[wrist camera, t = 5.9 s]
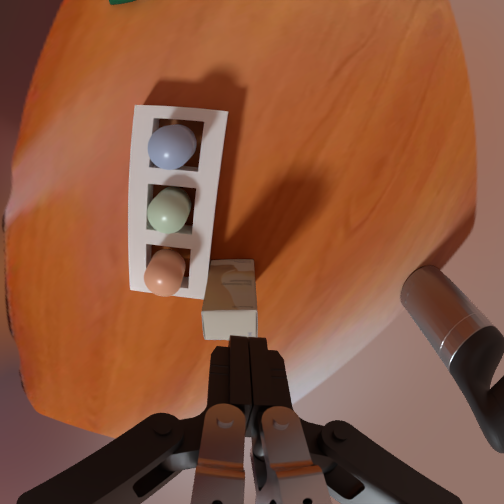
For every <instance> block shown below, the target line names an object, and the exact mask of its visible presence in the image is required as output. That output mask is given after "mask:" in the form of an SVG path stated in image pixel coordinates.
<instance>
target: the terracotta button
mask: <svg viewBox="0 0 504 504" xmlns="http://www.w3.org/2000/svg"><path fill="white" fill-rule="evenodd" d="M185 268H186V265H185V261H184V259H183V257H182V256H181V255H180V254H179V253H178V252H176V251H174V250H171V249H162V250H159V251H157V252H156V253H155V254H154V255H153V257H152V259H151V261H150V263H149V265H148V267H147V269H146V271H145V273H144V282H145V285H146V286H147V288H148V289H149V290H150V291H151V292H152V293H154V294H156V295H158V296H164V297H166V296H171V295H174V294H175V293H176V292H177V291H178V290H179V289H180V286H181V283H182V279H183V276H184V272H185Z"/></svg>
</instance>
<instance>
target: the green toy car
mask: <svg viewBox="0 0 504 504" xmlns="http://www.w3.org/2000/svg"><path fill="white" fill-rule="evenodd" d="M133 1H136V0H109V2H110V4H111V5H115V4H123V3H128V2H133Z"/></svg>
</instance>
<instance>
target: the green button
mask: <svg viewBox="0 0 504 504" xmlns="http://www.w3.org/2000/svg"><path fill="white" fill-rule="evenodd" d="M190 211H191V199H190V197H189V195H188V194H187V193H186V192H185V191H184V190H183V189H181V188H178V187H167V188H165V189H163V190H162V191H161V192H160V193H159V194H158V195H157V196H156V197H155V198H154V199H153V200H152V201H151V203H150V204H149V207H148V210H147V216H148V220H149V222H150V224H151V225H152V227H153V228H154V229H156V230H157V231H159V232H161V233H166V234H170V233H175V232H177V231H179V230H180V229H181V228H182V227H183V226H184V224H185V222H186V220H187V218H188V215H189V213H190Z"/></svg>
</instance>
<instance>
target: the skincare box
mask: <svg viewBox="0 0 504 504" xmlns="http://www.w3.org/2000/svg"><path fill="white" fill-rule="evenodd" d="M201 313H202V326H203V334H204V339H206V340H229V338H230V335H235V336H246V337H257V331H258V317H257V298H256V283H255V269H254V260H253V259H227V260H211V263H210V269H209V274H208V279H207V285H206V290H205V296H204V301H203V307H202V312H201Z"/></svg>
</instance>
